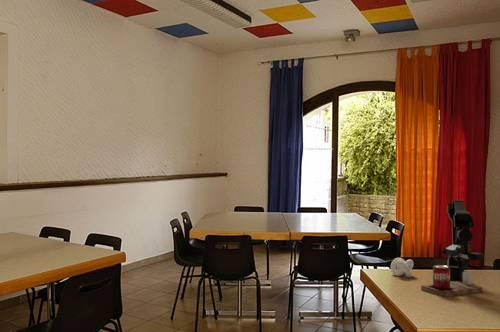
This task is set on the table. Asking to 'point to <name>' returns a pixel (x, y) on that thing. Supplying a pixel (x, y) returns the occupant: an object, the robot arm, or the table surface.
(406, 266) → the white rounded piece
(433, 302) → the table surface
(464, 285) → the brown piece
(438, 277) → the soda can
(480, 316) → the table surface
